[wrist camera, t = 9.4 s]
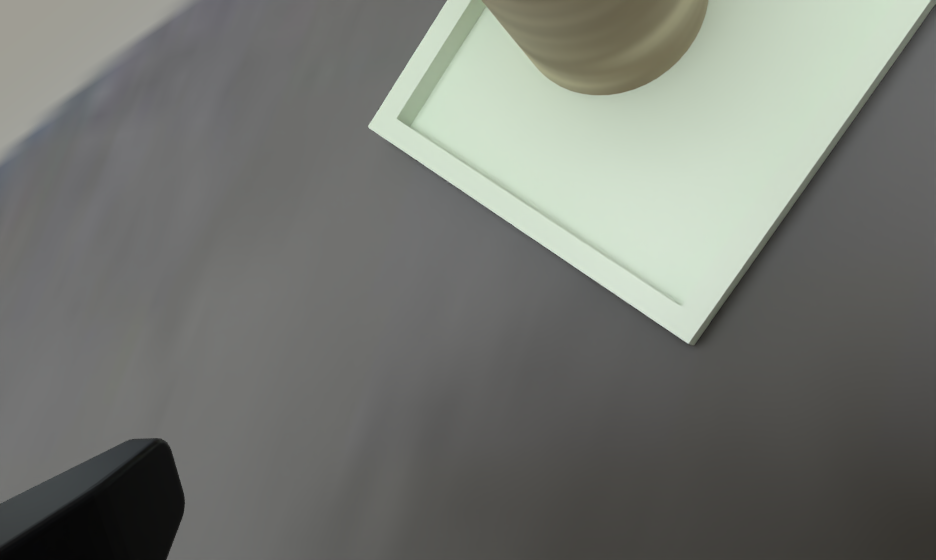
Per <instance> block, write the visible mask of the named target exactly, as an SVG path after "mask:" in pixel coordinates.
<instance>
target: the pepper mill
mask: <svg viewBox="0 0 936 560" xmlns="http://www.w3.org/2000/svg"><path fill="white" fill-rule="evenodd" d="M482 2H483V3H484V4H485V5H486V6H487V8H488V9H489V10H490V11H491V13H492V14H493V15H494V16H495V17H496V19H497V20H498V21H499V22H500V24H501V25H502V26H503V27H504V28H505V30H506V31H507V32H508V33H509V35H510V36H511V37H512V38H513V39H514V41H515V42H516V43H517V44H518V46H519V47H520V48H521V49H522V50H523V52H524V53H525V54H526V55H527V57H528V58H529V59H530V60H531V61H532V63H533V64H534V65H535V66H536V67H537V68H538V69H539V71H540V72H541V73H542V74H543V75H544V76H546V77H547V78H548V79H549V80H551V81H552V82H554V83H556V84H557V85H559V86H561V87H563V88H565V89H568V90H570V91H573V92H577V93H581V94H588V95H612V94H619V93H623V92H627V91H631V90H634V89H636V88H639V87H641V86H644V85H646V84H648V83H649V82H651V81H653V80H655V79H657V78H658V77H660V76H661V75H662V74H664V73H665V72H666V71H668V70H669V69H670V68H671V67H672V66H673V65H675V64H676V63H677V62H678V61H679V60H680V59H681V57H682V56H683V55H684V54H685V53H686V52H687V50H688V49H689V47H690V46H691V44H692V43H693V41H694V40H695V38H696V36H697V34H698V32H699V30H700V28H701V26H702V23H703V20H704V18H705V15H706V10H707V6H708V0H482Z"/></svg>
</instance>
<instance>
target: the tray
mask: <svg viewBox="0 0 936 560" xmlns="http://www.w3.org/2000/svg"><path fill="white" fill-rule="evenodd" d="M935 4H936V0H708V6H707V10H706V15H705V18H704V20H703V23H702V26H701V28H700V30H699V32H698V34H697V36H696V38H695V40H694V41H693V43H692V44H691V46H690V47H689V49H688V50H687V52H686V53H685V54H684V55H683V56H682V57H681V59H680V60H679V61H678V62H677V63H676V64H675V65H673V66H672V67H671V68H670V69H669V70H668V71H666V72H665V73H664V74H662V75H661V76H660V77H658V78H657V79H655V80H653V81H651V82H649V83H648V84H646V85H644V86H641V87H639V88H636V89H634V90H631V91H627V92H623V93H619V94H612V95H588V94H581V93H577V92H573V91H570V90H568V89H565V88H563V87H561V86H559V85H557V84H556V83H554V82H552V81H551V80H549V79H548V78H547V77H546V76H544V75H543V74H542V73H541V72H540V71H539V69H538V68H537V67H536V66H535V65H534V64H533V63H532V61H531V60H530V59H529V58H528V57H527V55H526V54H525V53H524V52H523V50H522V49H521V48H520V47H519V46H518V44H517V43H516V42H515V41H514V39H513V38H512V37H511V36H510V35H509V33H508V32H507V31H506V30H505V28H504V27H503V26H502V25H501V24H500V22H499V21H498V20H497V19H496V17H495V16H494V15H493V14H492V13H491V11H490V10H489V9H488V8H487V6H486V5H485V4H484V3H483V2H482V0H447V2H446V3H445V5H444V7H443V8H442V10H441V11H440V13H439V15H438V16H437V18H436V19H435V21H434V23H433V24H432V26H431V27H430V29H429V30H428V32H427V34H426V35H425V37H424V38H423V40H422V42H421V43H420V45H419V46H418V48H417V50H416V51H415V53H414V54H413V56H412V58H411V59H410V61H409V62H408V64H407V66H406V67H405V69H404V70H403V72H402V73H401V75H400V77H399V78H398V80H397V81H396V83H395V85H394V86H393V88H392V89H391V91H390V93H389V94H388V96H387V97H386V99H385V101H384V102H383V104H382V105H381V107H380V109H379V110H378V112H377V113H376V115H375V117H374V118H373V120H372V121H371V123H370V124H369V126H368V127H369V128H370V129H371V130H373V131H374V132H376V133H377V134H379V135H380V136H382V137H383V138H385V139H386V140H388V141H389V142H391V143H392V144H394V145H395V146H397V147H398V148H400V149H401V150H403V151H404V152H405V153H407V154H408V155H410V156H411V157H413V158H414V159H416V160H417V161H419V162H420V163H422V164H423V165H425V166H426V167H428V168H429V169H431V170H432V171H434V172H435V173H437V174H438V175H439V176H441V177H442V178H444V179H445V180H447V181H448V182H450V183H451V184H453V185H454V186H456V187H457V188H459V189H460V190H462V191H463V192H465V193H466V194H468V195H469V196H471V197H472V198H473V199H475V200H476V201H478V202H479V203H481V204H482V205H484V206H485V207H487V208H488V209H490V210H491V211H493V212H494V213H496V214H497V215H499V216H500V217H502V218H503V219H505V220H506V221H507V222H509V223H510V224H512V225H513V226H515V227H516V228H518V229H519V230H521V231H522V232H524V233H525V234H527V235H528V236H530V237H531V238H533V239H534V240H536V241H537V242H539V243H540V244H541V245H543V246H544V247H546V248H547V249H549V250H550V251H552V252H553V253H555V254H556V255H558V256H559V257H561V258H562V259H564V260H565V261H567V262H568V263H570V264H571V265H573V266H574V267H575V268H577V269H578V270H580V271H581V272H583V273H584V274H586V275H587V276H589V277H590V278H592V279H593V280H595V281H596V282H598V283H599V284H601V285H602V286H604V287H605V288H606V289H608V290H609V291H611V292H612V293H614V294H615V295H617V296H618V297H620V298H621V299H623V300H624V301H626V302H627V303H629V304H630V305H632V306H633V307H635V308H636V309H638V310H639V311H640V312H642V313H643V314H645V315H646V316H648V317H649V318H651V319H652V320H654V321H655V322H657V323H658V324H660V325H661V326H663V327H664V328H666V329H667V330H669V331H670V332H672V333H673V334H674V335H676V336H677V337H679V338H680V339H682V340H683V341H685V342H686V343H688V344H690V345H693V346H694V345H695V343H696V342H697V341H698V339H699V338H700V336H701V335H702V334H703V332H704V331H705V329H706V328H707V326H708V325H709V324H710V322H711V321H712V319H713V318H714V317H715V315H716V314H717V312H718V311H719V310H720V308H721V307H722V305H723V304H724V302H725V301H726V300H727V298H728V297H729V295H730V294H731V293H732V291H733V290H734V288H735V287H736V285H737V284H738V283H739V281H740V280H741V278H742V277H743V276H744V274H745V273H746V271H747V270H748V269H749V267H750V266H751V264H752V263H753V261H754V260H755V259H756V257H757V256H758V254H759V253H760V252H761V250H762V249H763V247H764V246H765V244H766V243H767V242H768V240H769V239H770V237H771V236H772V235H773V233H774V232H775V230H776V229H777V227H778V226H779V225H780V223H781V222H782V220H783V219H784V218H785V216H786V215H787V213H788V212H789V211H790V209H791V208H792V206H793V205H794V203H795V202H796V201H797V199H798V198H799V196H800V195H801V194H802V192H803V191H804V189H805V188H806V186H807V185H808V184H809V182H810V181H811V179H812V178H813V177H814V175H815V174H816V172H817V171H818V170H819V168H820V167H821V165H822V164H823V162H824V161H825V160H826V158H827V157H828V155H829V154H830V153H831V151H832V150H833V148H834V147H835V145H836V144H837V143H838V141H839V140H840V138H841V137H842V136H843V134H844V133H845V131H846V130H847V128H848V127H849V126H850V124H851V123H852V121H853V120H854V119H855V117H856V116H857V114H858V113H859V112H860V110H861V109H862V107H863V106H864V104H865V103H866V102H867V100H868V99H869V97H870V96H871V95H872V93H873V92H874V90H875V89H876V87H877V86H878V85H879V83H880V82H881V80H882V79H883V78H884V76H885V75H886V73H887V72H888V71H889V69H890V68H891V66H892V65H893V63H894V62H895V61H896V59H897V58H898V56H899V55H900V54H901V52H902V51H903V49H904V48H905V46H906V45H907V44H908V42H909V41H910V39H911V38H912V37H913V35H914V34H915V32H916V31H917V29H918V28H919V27H920V25H921V24H922V22H923V21H924V20H925V18H926V17H927V15H928V14H929V13H930V11H931V10H932V8H933V7H934V5H935Z"/></svg>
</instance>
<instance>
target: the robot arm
mask: <svg viewBox="0 0 936 560" xmlns="http://www.w3.org/2000/svg"><path fill="white" fill-rule="evenodd" d="M184 507H185V499H184V493H183V489H182V486H181V482H180V479H179V475H178V472H177V468H176V465H175V461H174V458H173V454H172V451H171V449H170V446H169V445H168V443H167V442H166V441H164V440H162V439H159V438H151V439H132V440H128V441H126V442H124V443H122V444H120V445H118V446H116V447H114V448H112V449H110V450H108V451H106V452H104V453H102V454H100V455H98V456H96V457H94V458H92V459H90V460H87V461H85V462H83V463H81V464H79V465H77V466H75V467H73V468H71V469H69V470H67V471H65V472H63V473H61V474H59V475H57V476H55V477H53V478H51V479H49V480H47V481H45V482H43V483H41V484H39V485H37V486H35V487H33V488H31V489H29V490H27V491H25V492H23V493H21V494H19V495H17V496H15V497H13V498H11V499H9V500H7V501H5V502H3V503H1V504H0V560H166V559H167V556H168V554H169V551H170V549H171V546H172V543H173V541H174V538H175V535H176V533H177V530H178V528H179V525H180V522H181V520H182V517H183V513H184Z"/></svg>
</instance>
